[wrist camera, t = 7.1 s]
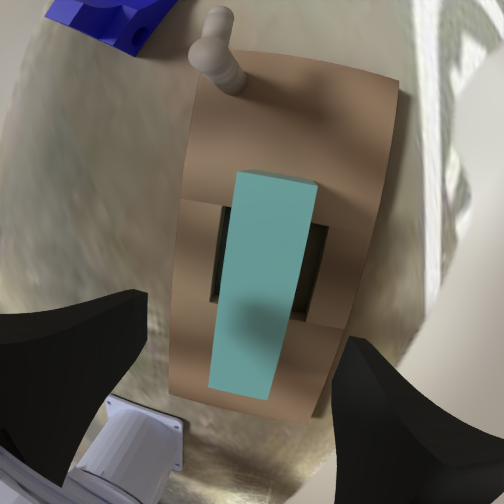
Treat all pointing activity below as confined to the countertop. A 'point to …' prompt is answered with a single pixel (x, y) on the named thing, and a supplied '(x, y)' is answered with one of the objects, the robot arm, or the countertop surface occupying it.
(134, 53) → the blue concave arch block
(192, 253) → the slotted wooden board
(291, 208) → the teal rectangular block
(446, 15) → the countertop surface
